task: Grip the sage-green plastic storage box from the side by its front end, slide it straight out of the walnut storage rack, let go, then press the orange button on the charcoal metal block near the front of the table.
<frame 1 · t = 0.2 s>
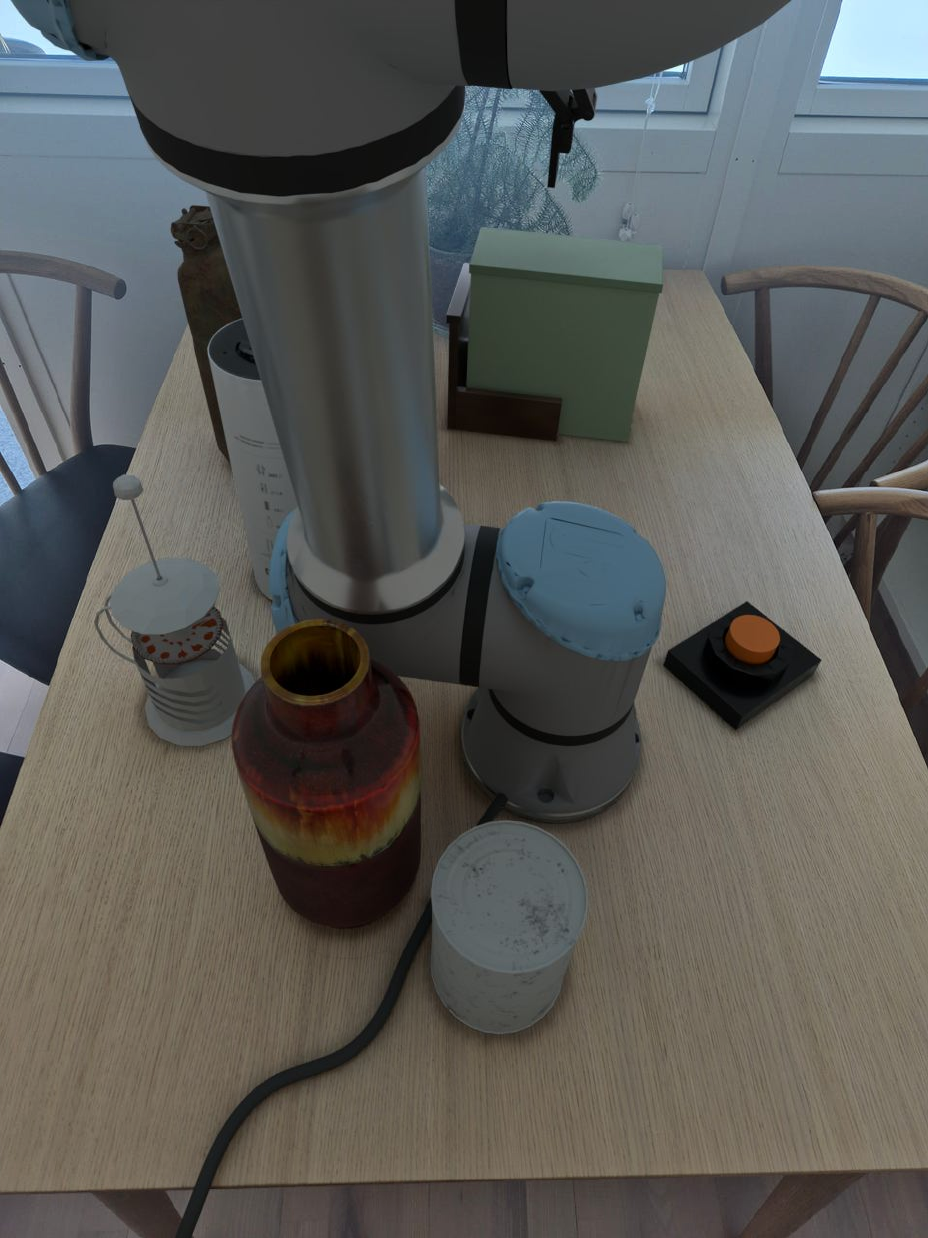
hand: (486, 171, 84), 28 cm above the table, tool tilted 20°, fingers open, 13 cm apart
container: (322, 456, 97), on the table
storage box: (548, 411, 104), on the table
french press: (193, 699, 74), on the table
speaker: (307, 574, 84), on the table
rack: (524, 408, 105), on the table
pale grey cylinder: (496, 963, 59), on the table
button: (752, 639, 74), point 4 cm above the table, slide at 0.1 cm
button block: (738, 669, 78), on the table
vase: (350, 872, 63), on the table
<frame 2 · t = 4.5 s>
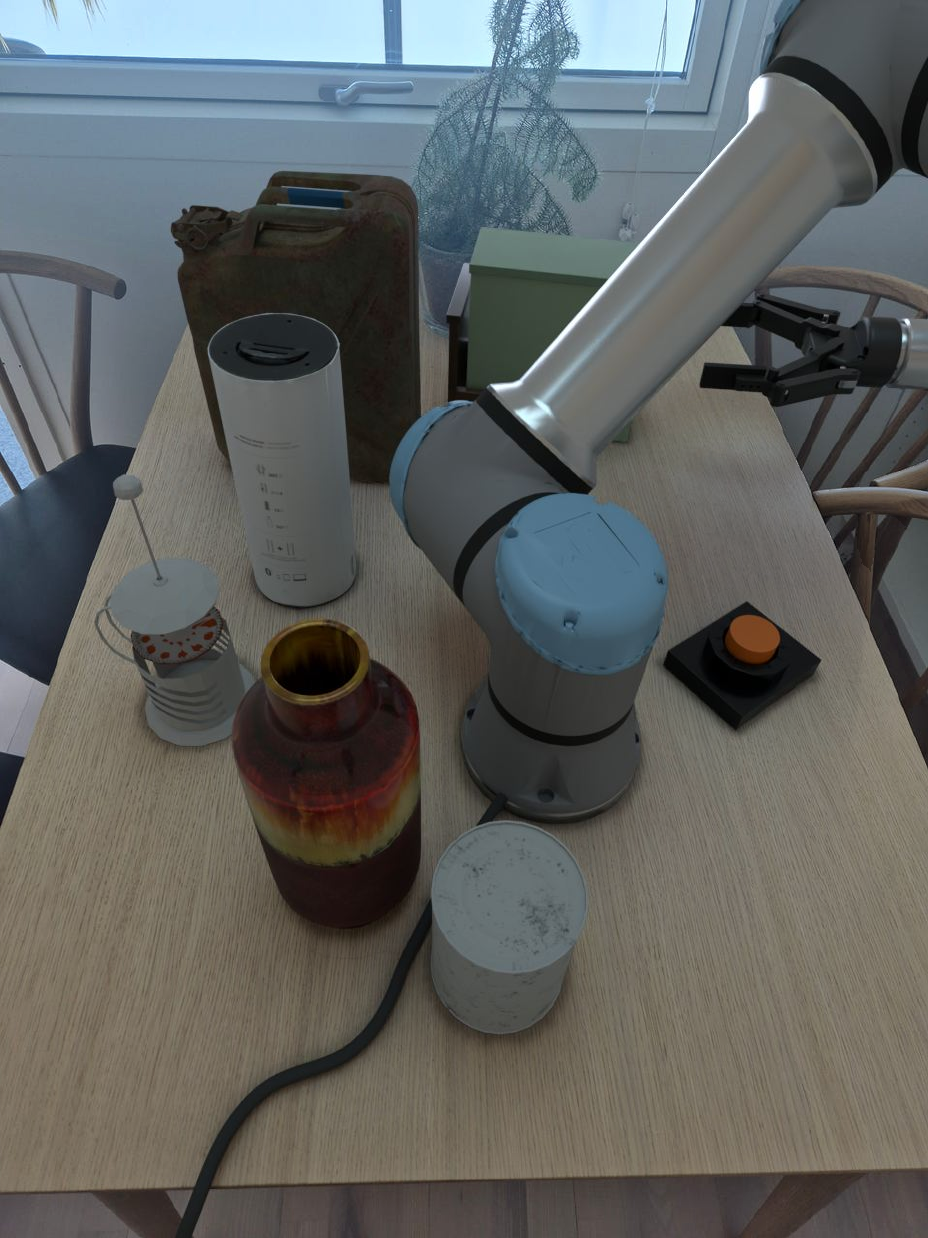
hand: (697, 342, 94), 12 cm above the table, tool horizontal, fingers open, 13 cm apart
nothing on the table moved.
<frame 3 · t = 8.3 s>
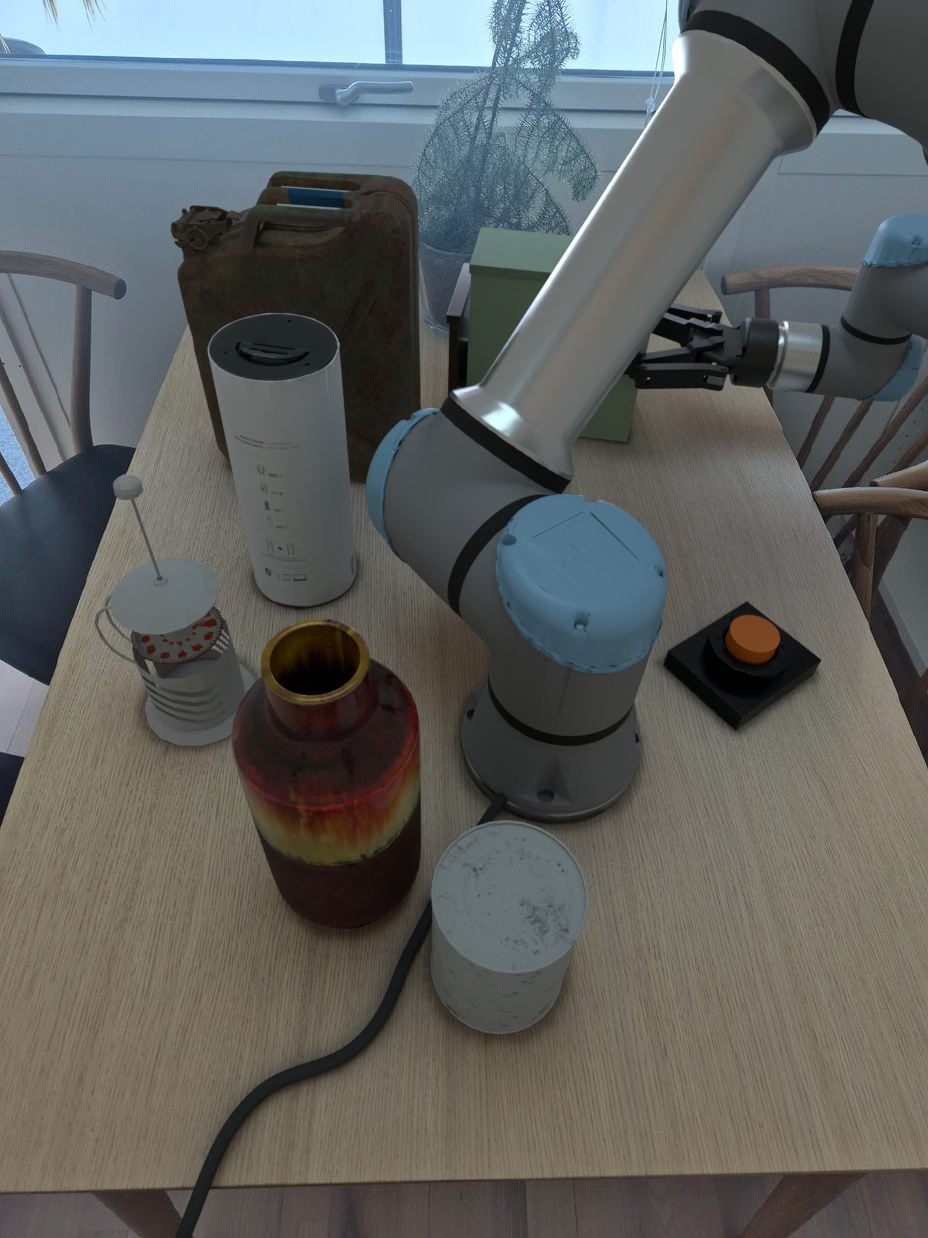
hand: (575, 333, 96), 11 cm above the table, tool horizontal, fingers closed on storage box, 9 cm apart
storage box: (548, 411, 104), on the table, touching gripper
everything else where it was.
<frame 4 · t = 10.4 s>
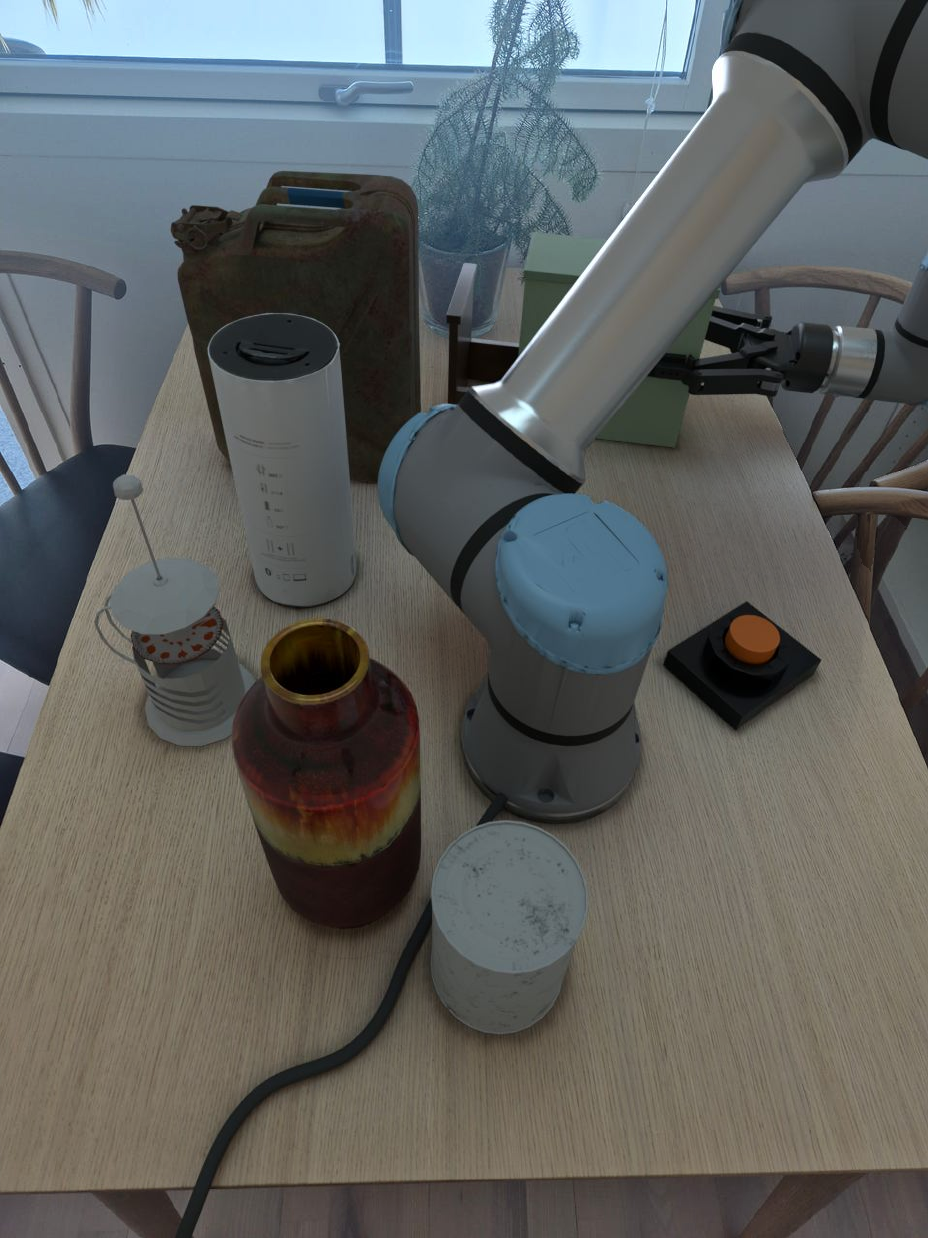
hand: (625, 338, 95), 11 cm above the table, tool horizontal, fingers closed on storage box, 9 cm apart
storage box: (594, 416, 104), on the table, touching gripper
everything else where it was.
when the fingers open (11 cm above the table, at t = 12.7 s): storage box stays where it is, on the table.
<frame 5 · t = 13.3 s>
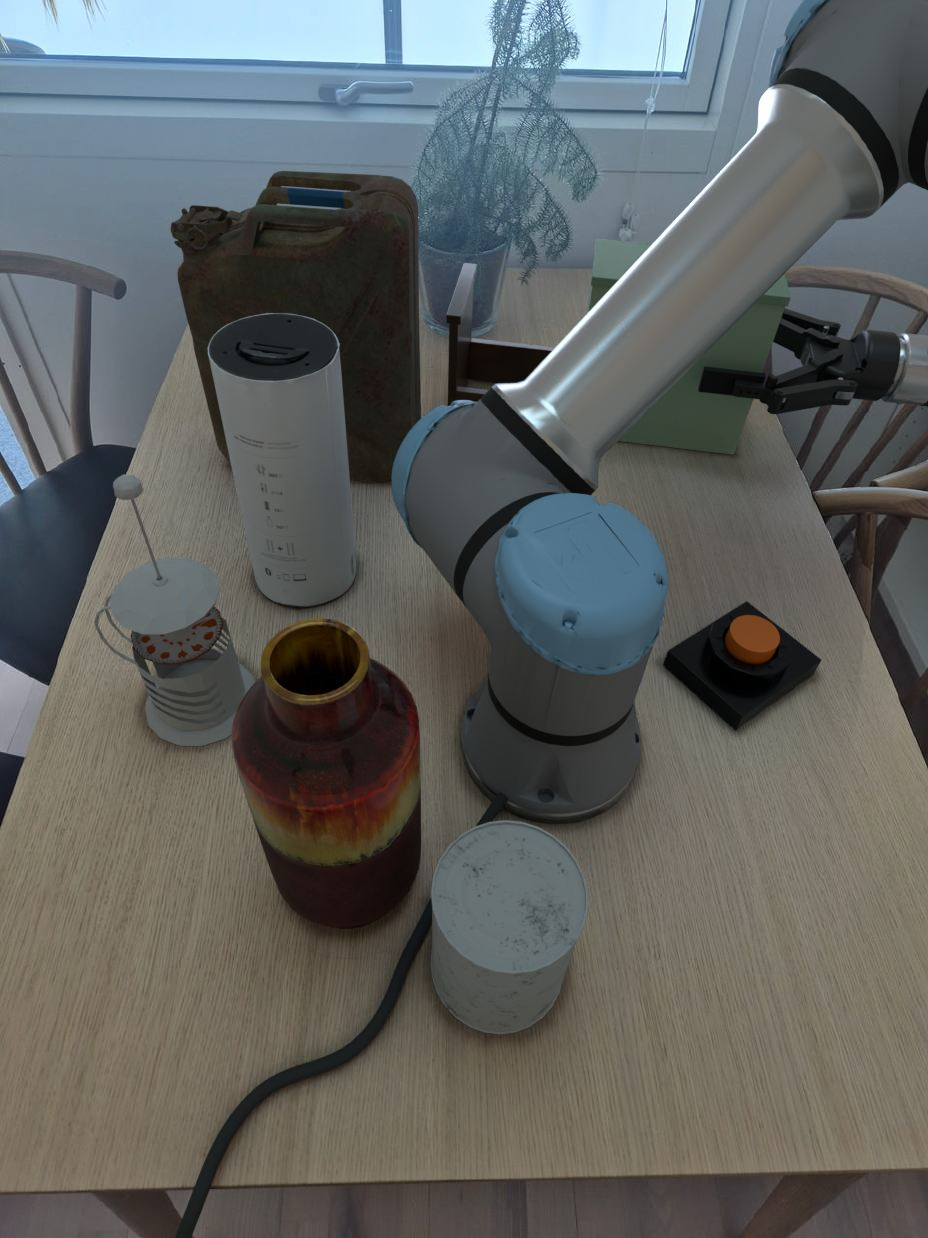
hand: (698, 346, 95), 11 cm above the table, tool horizontal, fingers open, 13 cm apart
storage box: (651, 423, 103), on the table
everything else where it was.
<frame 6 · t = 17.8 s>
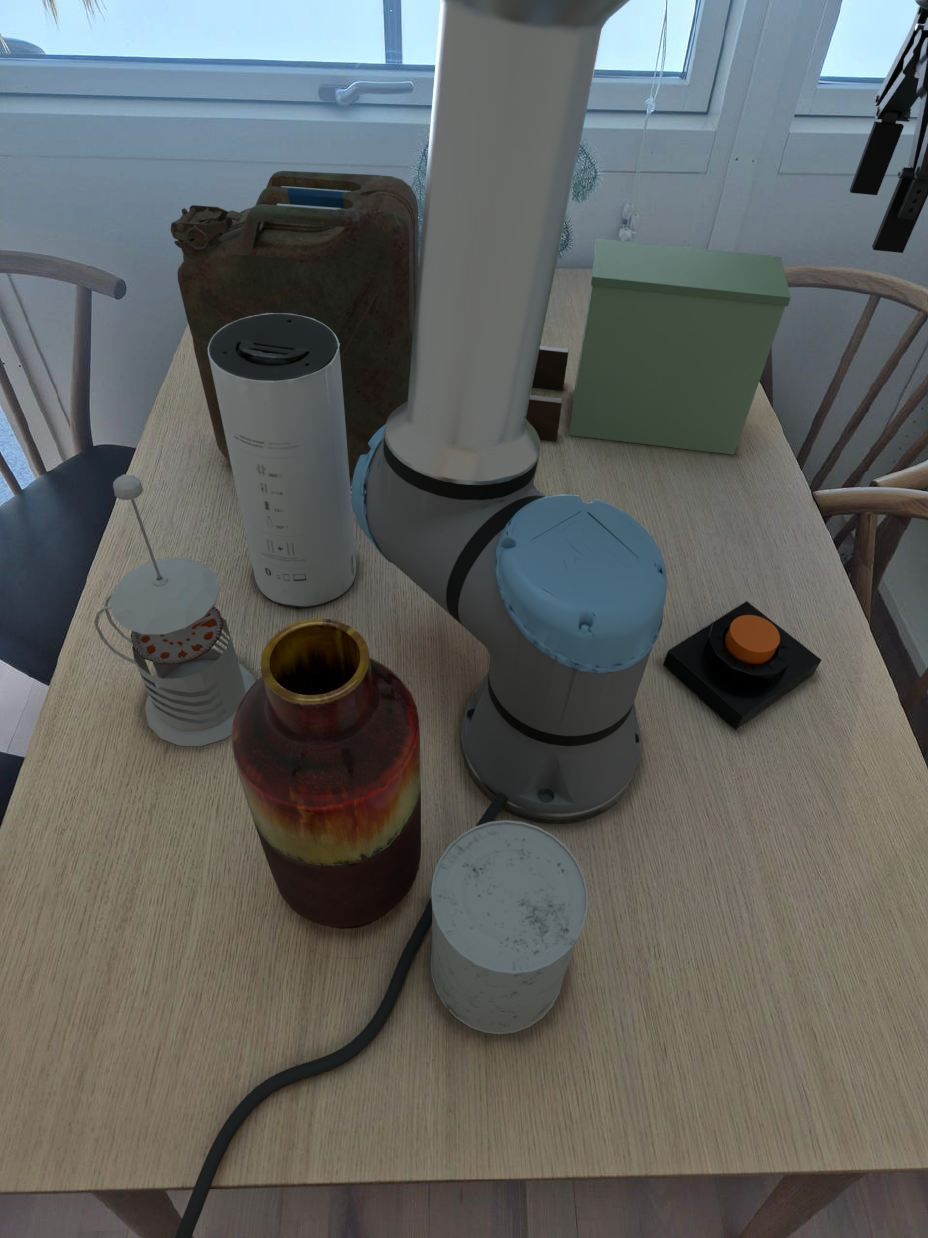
hand: (874, 220, 82), 27 cm above the table, tool pointing down, fingers open, 13 cm apart
nothing on the table moved.
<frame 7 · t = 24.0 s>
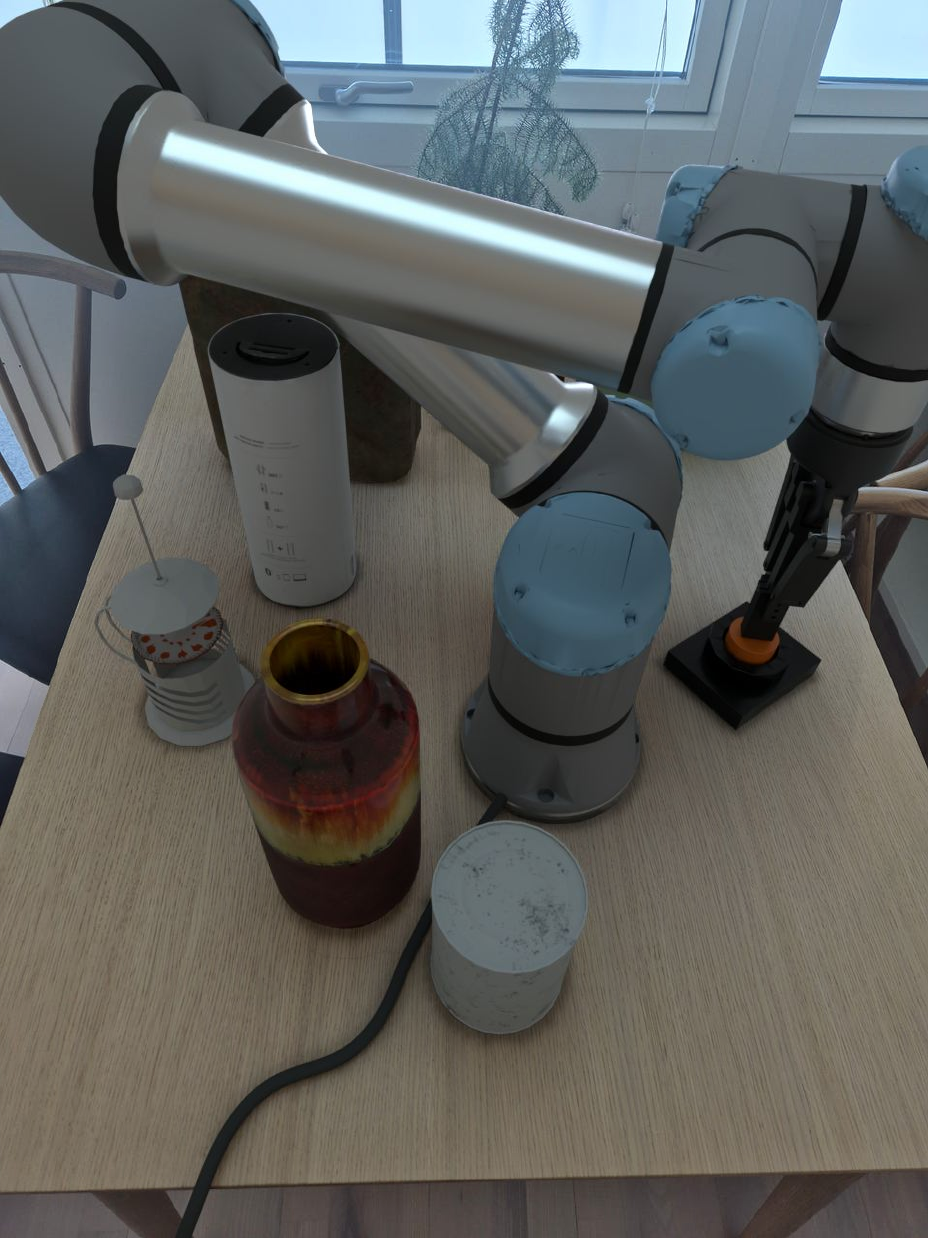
hand: (756, 632, 74), 5 cm above the table, tool pointing down, fingers closed
button: (751, 640, 74), point 4 cm above the table, slide at -0.1 cm, touching gripper
everything else where it was.
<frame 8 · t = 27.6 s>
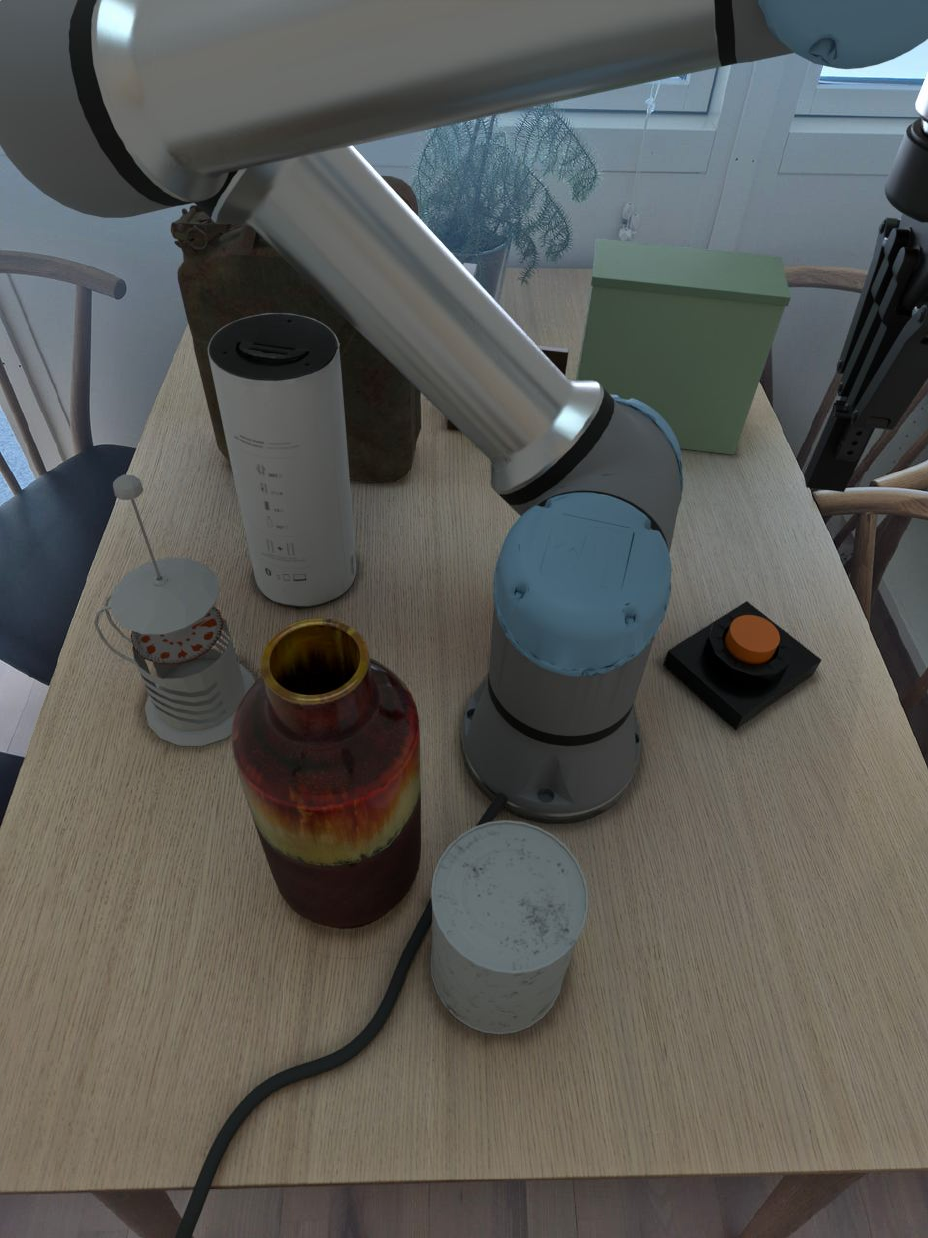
hand: (823, 483, 61), 22 cm above the table, tool pointing down, fingers closed
button: (752, 639, 74), point 4 cm above the table, slide at 0.1 cm
everything else where it was.
at the end: storage box inside the target area on the table beside the rack (0.1 cm from its centre), on the table; storage box tilted 0°; button pushed in 1.0 cm at the most during the clip, back to where it started at the end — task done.
